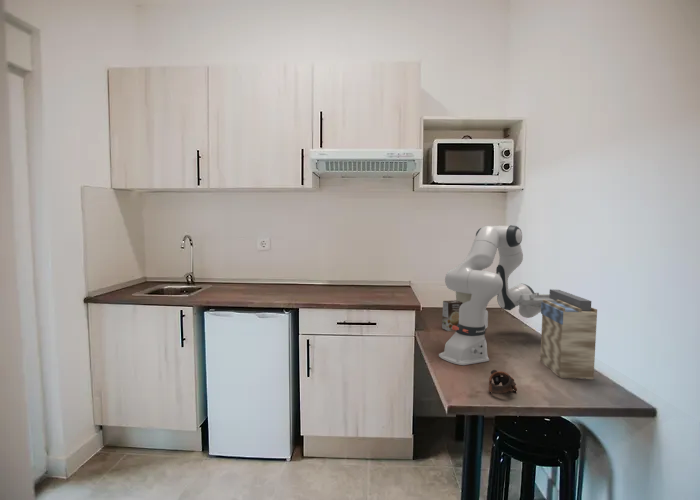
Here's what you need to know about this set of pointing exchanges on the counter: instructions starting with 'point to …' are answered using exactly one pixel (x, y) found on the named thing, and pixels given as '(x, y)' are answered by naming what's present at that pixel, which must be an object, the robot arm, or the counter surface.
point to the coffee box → (450, 314)
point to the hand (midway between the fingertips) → (547, 294)
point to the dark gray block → (570, 299)
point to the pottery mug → (505, 380)
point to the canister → (463, 297)
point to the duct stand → (568, 339)
